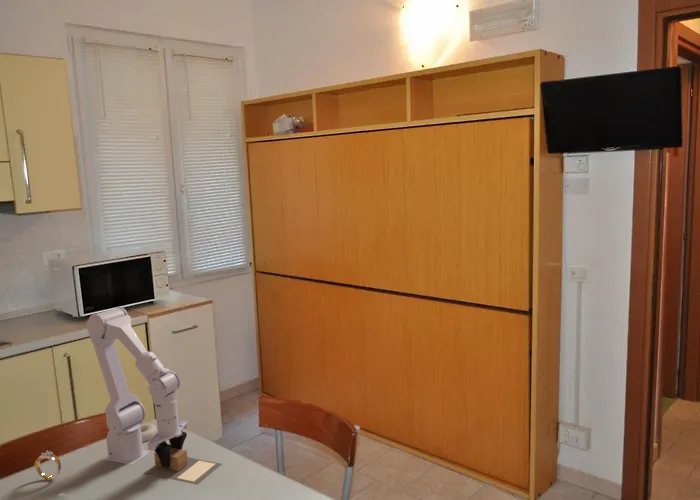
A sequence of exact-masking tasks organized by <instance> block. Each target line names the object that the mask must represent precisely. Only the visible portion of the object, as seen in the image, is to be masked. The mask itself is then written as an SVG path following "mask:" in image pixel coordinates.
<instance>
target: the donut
mask: <svg viewBox="0 0 700 500" xmlns="http://www.w3.org/2000/svg"><path fill="white" fill-rule="evenodd" d="M157 432H158V431H157V425H155V424H153V423H147V422H146V423H142V425H141V435H142V443H146V442H149V441H151V439H152V438H153V437H154V436H155V435H156V433H157Z"/></svg>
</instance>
